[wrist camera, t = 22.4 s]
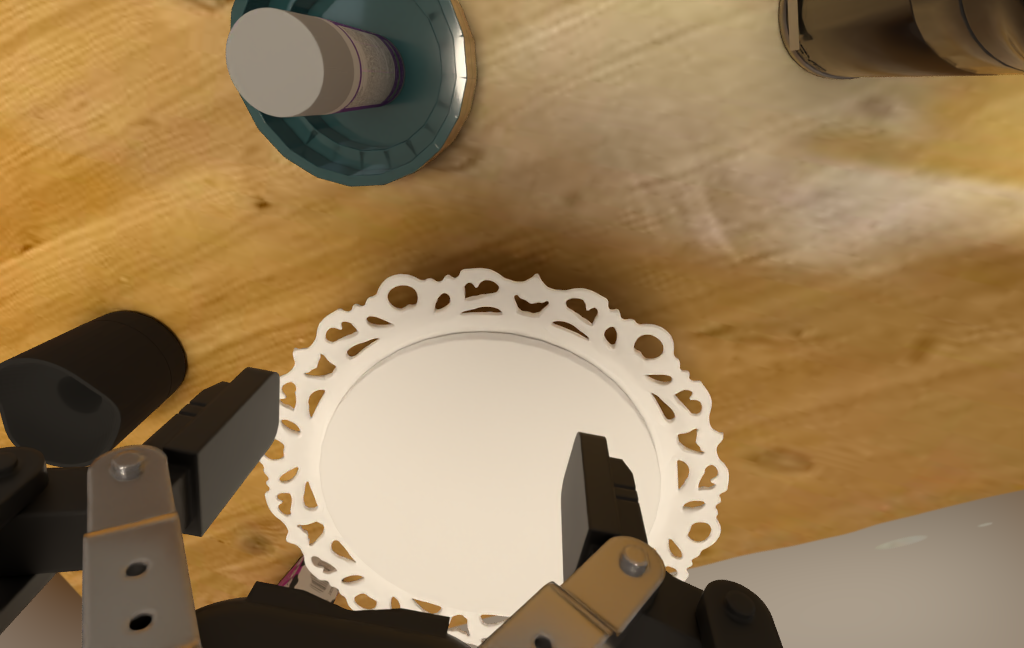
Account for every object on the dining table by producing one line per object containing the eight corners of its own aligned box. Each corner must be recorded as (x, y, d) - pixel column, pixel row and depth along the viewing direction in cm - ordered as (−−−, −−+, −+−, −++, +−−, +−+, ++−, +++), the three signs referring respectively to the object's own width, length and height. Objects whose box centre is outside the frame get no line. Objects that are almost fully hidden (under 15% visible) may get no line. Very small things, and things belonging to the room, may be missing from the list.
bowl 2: (251, 321, 48) (156, 398, 36) (588, 141, 40) (606, 165, 29) (441, 572, 58) (415, 695, 46) (737, 466, 51) (794, 581, 39)
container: (330, 88, 39) (212, 92, 25) (350, 20, 37) (235, -17, 23) (392, 118, 40) (309, 138, 26) (415, 52, 38) (340, 35, 24)
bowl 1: (375, -110, 35) (344, -146, 29) (519, 83, 39) (514, 83, 33) (233, 51, 39) (181, 46, 34) (375, 210, 43) (350, 229, 38)
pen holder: (70, 354, 50) (-37, 416, 41) (116, 283, 47) (12, 332, 38) (162, 417, 52) (80, 488, 43) (212, 353, 49) (135, 415, 40)
